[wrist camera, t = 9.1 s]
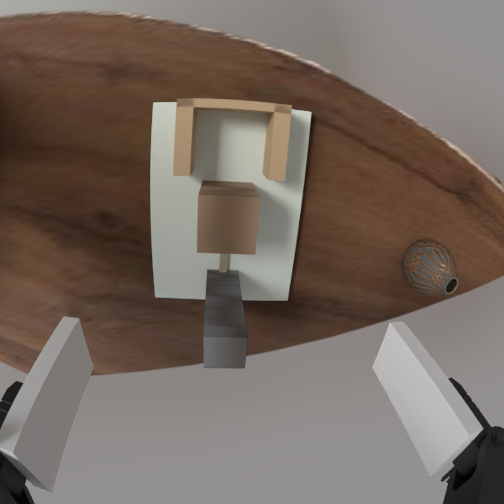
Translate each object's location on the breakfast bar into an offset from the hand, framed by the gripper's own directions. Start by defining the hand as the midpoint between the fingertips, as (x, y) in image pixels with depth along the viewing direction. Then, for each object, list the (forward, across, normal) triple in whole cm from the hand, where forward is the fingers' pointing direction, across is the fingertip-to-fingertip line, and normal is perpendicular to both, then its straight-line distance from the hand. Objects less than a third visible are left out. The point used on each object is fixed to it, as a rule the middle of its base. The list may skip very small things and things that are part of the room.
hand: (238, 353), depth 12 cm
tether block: (+22, 0, -4) cm, 22 cm away
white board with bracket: (+23, 0, 0) cm, 23 cm away
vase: (+23, +26, -5) cm, 35 cm away
